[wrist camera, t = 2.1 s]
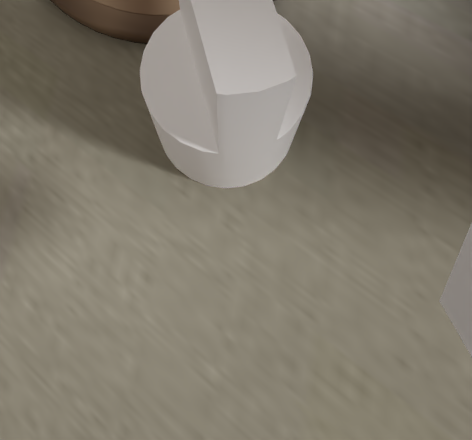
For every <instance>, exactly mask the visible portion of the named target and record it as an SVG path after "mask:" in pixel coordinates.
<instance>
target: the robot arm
mask: <svg viewBox="0 0 472 440" xmlns="http://www.w3.org/2000/svg"><path fill="white" fill-rule="evenodd" d="M440 303H441V305H442V306H443V308H444V310H445V312H446V313H447V315H448V317H449V318H450V320H451V322H452V324H453V325H454V327H455V329H456V331H457V332H458V334H459V336H460V338H461V339H462V341H463V343H464V345H465V346H466V348H467V350H468V352H469V353H470V355H471V357H472V223H471V225H470V228H469V230H468V232H467V235H466V237H465V240H464V242H463V245H462V247H461V250H460V252H459V254H458V257H457V259H456V262H455V264H454V267H453V269H452V272H451V274H450V276H449V279H448V281H447V284H446V286H445V289H444V291H443V293H442V296H441V298H440Z"/></svg>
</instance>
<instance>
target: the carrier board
mask: <svg viewBox="0 0 472 440" xmlns="http://www.w3.org/2000/svg"><path fill="white" fill-rule="evenodd" d="M51 1H52V2H53V3H54V4H55V5H56V6H57V7H59V8H60V9H61V10H62V11H63V12H64V13H66V14H67V15H69V16H70V17H72V18H73V19H75V20H76V21H78V22H79V23H81V24H83V25H85V26H87V27H89V28H91V29H93V30H95V31H97V32H100V33H103V34H105V35H108V36H111V37H114V38H118V39H122V40H127V41H131V42H137V43H147V44H148V42H149V40H150V38H151V36H152V34H153V32H154V31H155V30H156V29H157V28H158V27H159V26H160V25H161V24H162V23H163V22H164V21H165V19H166V18H167V17H169V16H170V15H172V14H173V13H175V12H177V11H178V10H180V6H179V0H51ZM273 1H274V0H273Z"/></svg>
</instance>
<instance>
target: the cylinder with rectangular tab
mask: <svg viewBox="0 0 472 440" xmlns="http://www.w3.org/2000/svg"><path fill="white" fill-rule="evenodd" d="M179 6H180V10H178V11H177V12H175V13H173V14H172V15H170V16H169V17H167V18H166V19H165V21H164V22H163V23H162V24H161V25H160V26H159V27H158V28H157V29H156V30H155V31H154V32H153V34H152V36H151V38H150V40H149V42H148V44H147V45H146V47H145V49H144V52H143V57H142V62H141V67H140V81H141V92H142V94H143V97H144V100H145V102H146V105H147V107H148V110H149V113H150V115H151V118H152V120H153V123H154V126H155V128H156V131H157V133H158V136H159V138H160V141H161V144H162V146H163V149H164V151H165V154H166V155H167V156H168V158H169V159H170V160H171V162H172V163H173V164H174V166H175V167H176V168H177V169H178V170H180V171H181V172H182V173H184V174H185V175H186V176H188V177H189V178H190V179H192V180H195V181H197V182H199V183H202V184H204V185H207V186H212V187H220V188H233V187H242V186H246V185H249V184H251V183H254V182H256V181H259V180H261V179H263V178H264V177H265V176H267V175H268V174H270V173H271V172H272V171H274V170H275V169H276V168H277V167H278V165H279V164H280V163H281V162H282V160H283V159H284V158H285V157H286V155H287V153H288V150H289V148H290V145H291V143H292V141H293V138H294V136H295V133H296V131H297V128H298V126H299V123H300V121H301V118H302V116H303V113H304V111H305V108H306V106H307V103H308V101H309V98H310V96H311V90H312V81H313V70H312V64H311V59H310V54H309V52H308V50H307V48H306V46H305V43H304V41H303V39H302V37H301V35H300V34H299V33H298V32H297V31H296V30H295V29H294V27H293V26H292V25H291V24H290V23H289V22H288V21H287V20H286V19H285V18H284V17H282V16H281V15H279V14H278V13H277V12H276V9H275V6H274V3H273V0H179Z"/></svg>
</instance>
